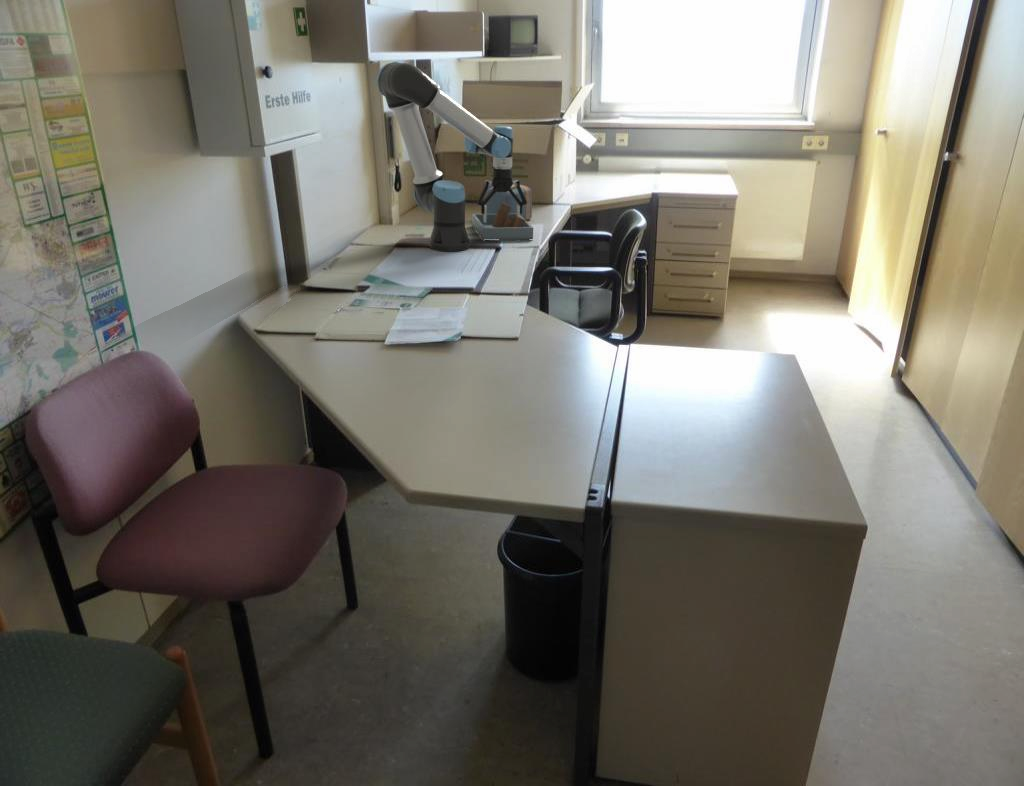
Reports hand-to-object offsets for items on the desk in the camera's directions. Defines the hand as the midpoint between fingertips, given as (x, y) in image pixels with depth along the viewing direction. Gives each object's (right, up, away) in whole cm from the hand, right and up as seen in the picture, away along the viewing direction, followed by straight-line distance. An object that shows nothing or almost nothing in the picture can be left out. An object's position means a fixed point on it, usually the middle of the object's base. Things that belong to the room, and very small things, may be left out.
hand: (501, 222), depth 296 cm
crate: (0, -4, +2) cm, 4 cm away
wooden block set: (+2, -3, +2) cm, 4 cm away
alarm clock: (+2, +7, +28) cm, 29 cm away
